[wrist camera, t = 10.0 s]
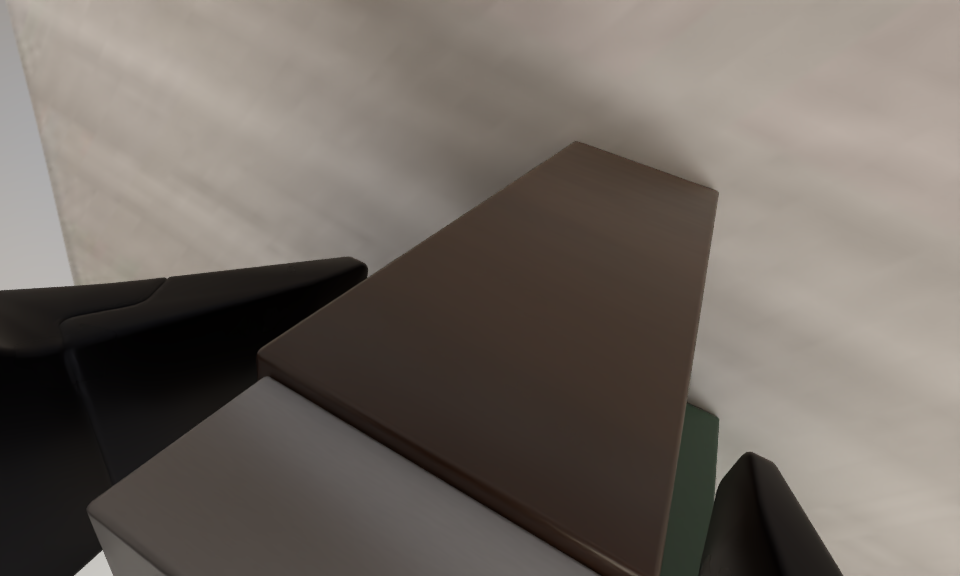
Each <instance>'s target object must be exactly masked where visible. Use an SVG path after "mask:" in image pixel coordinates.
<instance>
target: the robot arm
mask: <svg viewBox="0 0 960 576" xmlns="http://www.w3.org/2000/svg"><path fill="white" fill-rule="evenodd" d="M367 276H368V268H367V265H366V264H365V263H363V262H361V261H359V260H357V259H355V258H353V257H339V258H331V259H322V260H313V261H305V262H296V263H287V264H278V265H270V266H261V267H252V268H243V269H235V270H226V271H217V272H209V273H200V274H191V275H182V276H174V277H169V278H168V279H166V278H155V279H147V280H138V281H128V282H118V283H107V284H94V285H80V286H65V287H51V288H50V287H49V288H33V289H18V290H1V291H0V576H74V575H75V574H76V573H77V572H79V571H80V570H81V569H82V568H83V567H84V566H85V565H86V564H87V563H88V562H90V561H91V560H92V559H93V558H94V557H95V556H96V555H97V554H98V553H100V552H101V551H102V550H103V549H102V547H101V544H100V542H99V540H98V537H97V535H96V532H95V530H94V528H93V525H92V523H91V520H90V518H89V516H88V513H87V506H88V505H89V504H90V503H91V502H92V501H93V500H94V499H96V498H97V497H98V496H100V495H101V494H103V493H104V492H105V491H107V490H108V489H110V488H111V487H112V486H114V485H115V484H116V483H118V482H119V481H121V480H122V479H123V478H125V477H126V476H128V475H129V474H130V473H132V472H133V471H134V470H136V469H137V468H139V467H140V466H141V465H143V464H144V463H146V462H147V461H148V460H150V459H151V458H153V457H154V456H155V455H157V454H158V453H159V452H161V451H162V450H164V449H165V448H166V447H168V446H169V445H171V444H172V443H173V442H175V441H176V440H177V439H179V438H180V437H182V436H183V435H184V434H186V433H187V432H189V431H190V430H191V429H193V428H194V427H195V426H197V425H198V424H200V423H201V422H202V421H204V420H205V419H207V418H208V417H209V416H211V415H212V414H213V413H215V412H216V411H218V410H219V409H220V408H222V407H223V406H225V405H226V404H227V403H229V402H230V401H231V400H233V399H234V398H236V397H237V396H238V395H240V394H241V393H243V392H244V391H245V390H247V389H248V388H249V387H251V386H252V385H254V384H255V383H256V382H257V365H256V355H257V352H258V351H259V350H260V348H262V347H263V346H265V345H266V344H268V343H269V342H271V341H272V340H274V339H275V338H277V337H278V336H280V335H281V334H283V333H284V332H286V331H287V330H289V329H290V328H292V327H294V326H295V325H297V324H298V323H300V322H301V321H303V320H304V319H306V318H307V317H309V316H310V315H312V314H313V313H315V312H316V311H318V310H319V309H321V308H322V307H324V306H325V305H327V304H329V303H330V302H332V301H333V300H335V299H336V298H338V297H339V296H341V295H342V294H344V293H345V292H347V291H348V290H350V289H351V288H353V287H354V286H356V285H357V284H359V283H360V282H362V281H364V280H365V279H367ZM698 576H843V574H842V573H841V571H840V569H839V568H838V566H837V564H836V563H835V561H834V560H833V558H832V556H831V555H830V553H829V551H828V550H827V548H826V546H825V545H824V543H823V542H822V540H821V538H820V537H819V535H818V533H817V532H816V530H815V528H814V527H813V525H812V524H811V522H810V520H809V519H808V517H807V515H806V514H805V512H804V510H803V509H802V507H801V506H800V504H799V502H798V501H797V499H796V497H795V496H794V494H793V493H792V491H791V489H790V488H789V486H788V484H787V483H786V481H785V479H784V478H783V476H782V475H781V473H780V471H779V470H778V468H777V467H776V465H775V464H774V463H773V462H771V461H769V460H767V459H765V458H763V457H761V456H759V455H757V454H755V453H753V452H746V453H745V454H743V455H742V456H741V457H740V458H739V460H738V461H737V462H736V463H735V464H734V466H733V467H732V468H731V469H730V470H729V472H728V473H727V474H726V475H725V476H724V478H723V479H722V480H721V482H720V484H719V486H718V489H717V492H716V497H715V501H714V505H713V510H712V514H711V519H710V523H709V528H708V532H707V536H706V541H705V545H704V550H703V554H702V558H701V563H700V568H699V574H698Z"/></svg>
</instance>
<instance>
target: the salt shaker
mask: <svg viewBox="0 0 960 576" xmlns="http://www.w3.org/2000/svg"><path fill="white" fill-rule="evenodd" d="M718 195H719V193H718V192H717V191H715V190H713V189H710V188H707V187H704V186H701V185H699V184H696V183H693V182H690V181H687V180H685V179H682V178H679V177H676V176H673V175H671V174H668V173H665V172H662V171H659V170H657V169H654V168H651V167H648V166H645V165H643V164H640V163H637V162H634V161H631V160H629V159H626V158H623V157H620V156H617V155H615V154H612V153H609V152H606V151H603V150H601V149H598V148H595V147H592V146H589V145H587V144H584V143H581V142H578V141H575V142H573V143H572V144H570V145H569V146H567V147H566V148H564V149H563V150H561V151H560V152H558V153H557V154H555V155H554V156H552V157H551V158H549V159H548V160H546V161H545V162H543V163H541V164H540V165H538V166H537V167H535V168H534V169H532V170H531V171H529V172H528V173H526V174H525V175H523V176H522V177H520V178H519V179H517V180H516V181H514V182H513V183H511V184H510V185H508V186H506V187H505V188H503V189H502V190H500V191H499V192H497V193H496V194H494V195H493V196H491V197H490V198H488V199H487V200H485V201H484V202H482V203H481V204H479V205H478V206H476V207H475V208H473V209H472V210H470V211H468V212H467V213H465V214H464V215H462V216H461V217H459V218H458V219H456V220H455V221H453V222H452V223H450V224H449V225H447V226H446V227H444V228H443V229H441V230H440V231H438V232H437V233H435V234H433V235H432V236H430V237H429V238H427V239H426V240H424V241H423V242H421V243H420V244H418V245H417V246H415V247H414V248H412V249H411V250H409V251H408V252H406V253H405V254H403V255H402V256H400V257H398V258H397V259H395V260H394V261H392V262H391V263H389V264H388V265H386V266H385V267H383V268H382V269H380V270H379V271H377V272H376V273H374V274H373V275H371V276H370V277H368V278H367V279H365V280H364V281H362V282H360V283H359V284H357V285H356V286H354V287H353V288H351V289H350V290H348V291H347V292H345V293H344V294H342V295H341V296H339V297H338V298H336V299H335V300H333V301H332V302H330V303H329V304H327V305H325V306H324V307H322V308H321V309H319V310H318V311H316V312H315V313H313V314H312V315H310V316H309V317H307V318H306V319H304V320H303V321H301V322H300V323H298V324H297V325H295V326H294V327H292V328H290V329H289V330H287V331H286V332H284V333H283V334H281V335H280V336H278V337H277V338H275V339H274V340H272V341H271V342H269V343H268V344H266V345H265V346H263V347H262V348H260V350H259V351H258V352H257V355H256V365H257V382H256V383H255V384H254V385H252V386H251V387H249V388H248V389H247V390H245V391H244V392H243V393H241V394H240V395H238V396H237V397H236V398H234V399H233V400H231V401H230V402H229V403H227V404H226V405H225V406H223V407H222V408H220V409H219V410H218V411H216V412H215V413H213V414H212V415H211V416H209V417H208V418H207V419H205V420H204V421H202V422H201V423H200V424H198V425H197V426H195V427H194V428H193V429H191V430H190V431H189V432H187V433H186V434H184V435H183V436H182V437H180V438H179V439H177V440H176V441H175V442H173V443H172V444H171V445H169V446H168V447H166V448H165V449H164V450H162V451H161V452H159V453H158V454H157V455H155V456H154V457H153V458H151V459H150V460H148V461H147V462H146V463H144V464H143V465H141V466H140V467H139V468H137V469H136V470H134V471H133V472H132V473H130V474H129V475H128V476H126V477H125V478H123V479H122V480H121V481H119V482H118V483H116V484H115V485H114V486H112V487H111V488H110V489H108V490H107V491H105V492H104V493H103V494H101V495H100V496H98V497H97V498H96V499H94V500H93V501H92V502H91V503H90V504H89V505H88V506H87V513H88V516H89V518H90V520H91V523H92V525H93V528H94V530H95V532H96V535H97V537H98V540H99V542H100V544H101V547H102V549H103V552H104V554H105V556H106V559H107V561H108V564H109V566H110V568H111V571H112V573H113V576H660V573H661V567H662V560H663V554H664V547H665V541H666V534H667V528H668V521H669V514H670V508H671V501H672V495H673V488H674V482H675V475H676V469H677V462H678V456H679V449H680V443H681V436H682V430H683V423H684V417H685V410H686V404H687V397H688V391H689V384H690V378H691V371H692V364H693V358H694V351H695V345H696V338H697V332H698V325H699V319H700V312H701V306H702V299H703V293H704V286H705V280H706V273H707V267H708V260H709V254H710V247H711V241H712V234H713V228H714V221H715V214H716V208H717V201H718Z"/></svg>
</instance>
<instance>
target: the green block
mask: <svg viewBox="0 0 960 576" xmlns="http://www.w3.org/2000/svg"><path fill="white" fill-rule="evenodd" d="M718 432H719V418H718V417H716V416H714V415H712V414H710V413H707V412H705V411H703V410H701V409H699V408H697V407H695V406H693V405H691V404H689V403H687V404H686V410H685V417H684V423H683V430H682V436H681V443H680V449H679V456H678V462H677V469H676V475H675V482H674V488H673V495H672V501H671V508H670V514H669V521H668V528H667V534H666V541H665V547H664V554H663V560H662V567H661V573H660V576H698V574H699V568H700V563H701V558H702V554H703V550H704V545H705V541H706V536H707V532H708V528H709V523H710V519H711V514H712V510H713V505H714V495H715V479H716V464H717V448H718Z"/></svg>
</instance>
